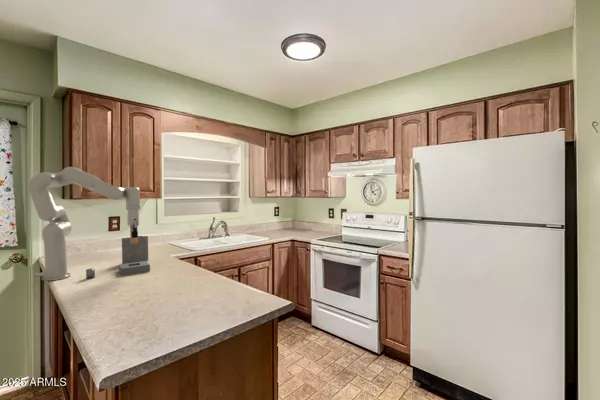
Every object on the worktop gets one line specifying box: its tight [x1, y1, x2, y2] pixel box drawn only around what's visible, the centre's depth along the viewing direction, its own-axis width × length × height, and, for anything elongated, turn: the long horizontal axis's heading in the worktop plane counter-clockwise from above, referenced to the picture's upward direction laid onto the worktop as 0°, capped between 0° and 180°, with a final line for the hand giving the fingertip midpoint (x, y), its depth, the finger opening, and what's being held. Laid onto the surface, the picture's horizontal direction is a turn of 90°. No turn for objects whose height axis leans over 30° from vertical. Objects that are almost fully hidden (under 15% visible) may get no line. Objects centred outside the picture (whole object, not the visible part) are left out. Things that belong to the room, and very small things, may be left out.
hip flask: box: [121, 235, 149, 264], centre depth 201 cm, size 16×4×20 cm, turn 127°
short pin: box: [85, 267, 96, 280], centre depth 165 cm, size 4×4×5 cm
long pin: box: [129, 225, 139, 244], centre depth 178 cm, size 4×4×12 cm
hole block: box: [118, 261, 151, 276], centre depth 179 cm, size 15×12×4 cm
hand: (134, 236), depth 178 cm, fingers closed on long pin, 4 cm apart
